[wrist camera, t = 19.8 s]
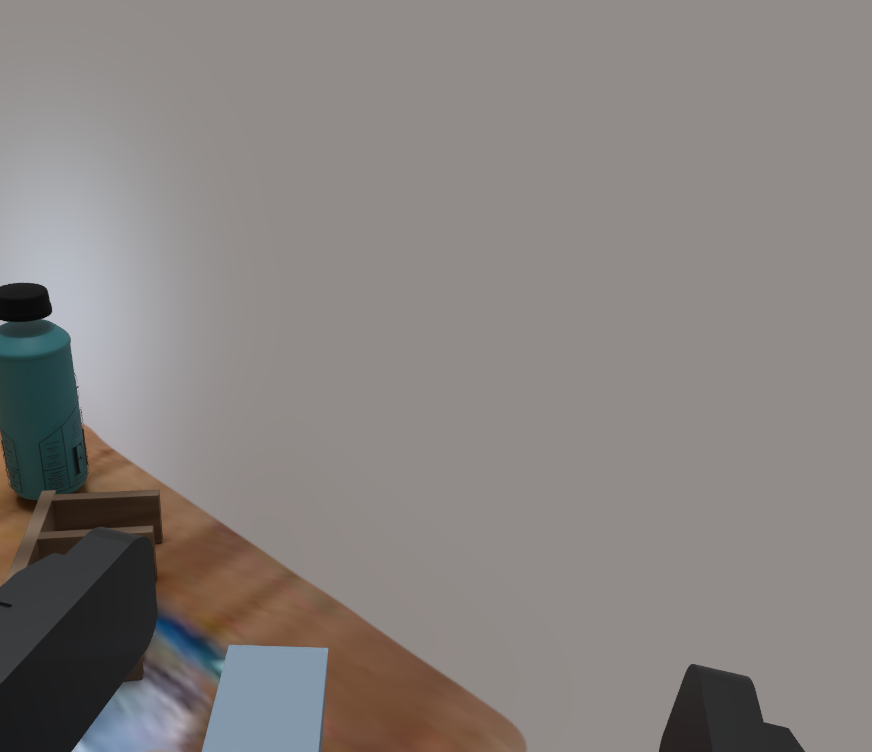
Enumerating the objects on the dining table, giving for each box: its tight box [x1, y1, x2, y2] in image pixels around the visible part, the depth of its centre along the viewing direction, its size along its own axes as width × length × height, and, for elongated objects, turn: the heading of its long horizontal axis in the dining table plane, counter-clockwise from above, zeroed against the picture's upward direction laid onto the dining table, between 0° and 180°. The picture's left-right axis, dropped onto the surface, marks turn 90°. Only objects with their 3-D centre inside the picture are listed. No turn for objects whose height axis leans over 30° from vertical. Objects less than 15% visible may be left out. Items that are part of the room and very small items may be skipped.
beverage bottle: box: [0, 283, 89, 500], centre depth 61 cm, size 6×7×20 cm
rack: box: [5, 490, 163, 681], centre depth 54 cm, size 16×9×5 cm, turn 14°
